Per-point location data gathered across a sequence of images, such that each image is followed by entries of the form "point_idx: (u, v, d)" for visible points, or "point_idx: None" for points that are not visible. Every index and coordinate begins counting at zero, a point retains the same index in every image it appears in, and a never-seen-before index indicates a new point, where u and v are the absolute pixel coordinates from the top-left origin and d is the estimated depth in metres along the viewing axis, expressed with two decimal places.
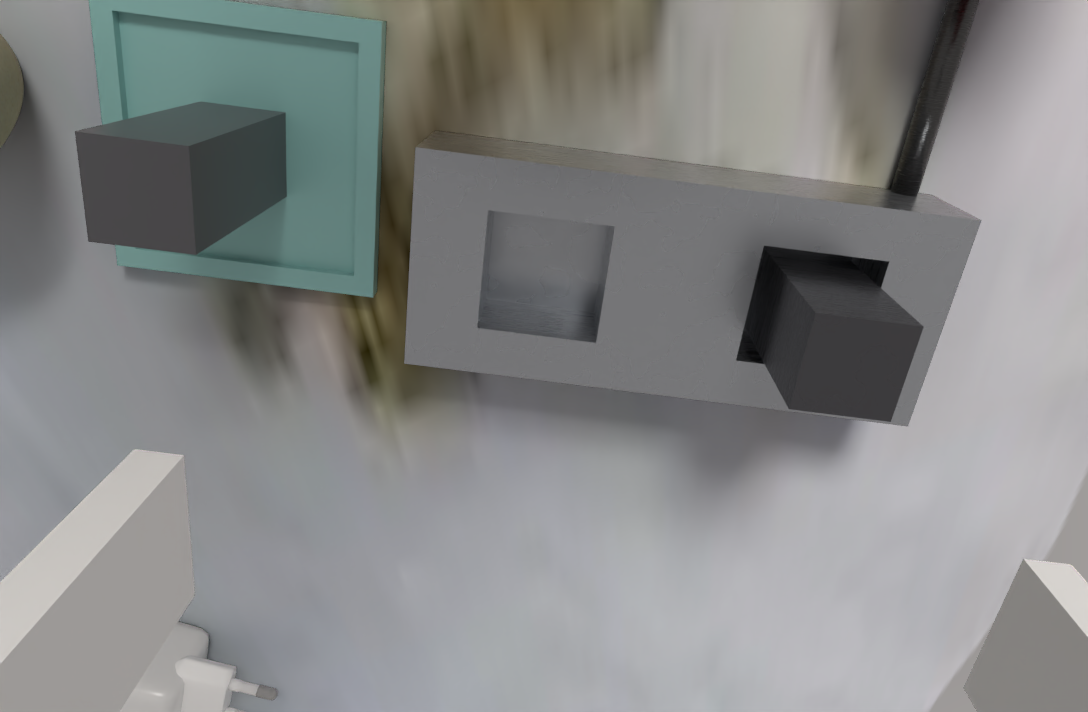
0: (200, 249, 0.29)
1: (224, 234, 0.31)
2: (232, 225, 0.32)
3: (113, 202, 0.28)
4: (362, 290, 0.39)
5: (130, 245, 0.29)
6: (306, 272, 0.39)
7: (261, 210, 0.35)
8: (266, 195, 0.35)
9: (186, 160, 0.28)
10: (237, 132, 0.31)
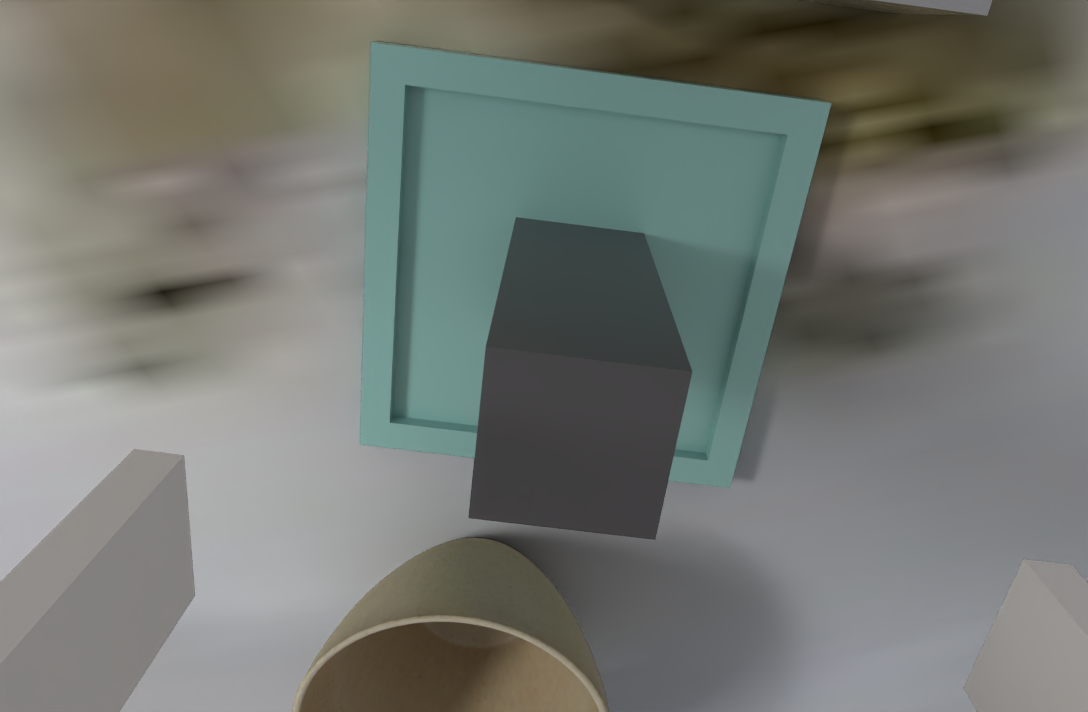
0: (684, 362, 0.15)
1: (671, 321, 0.17)
2: (659, 307, 0.18)
3: (587, 487, 0.16)
4: (815, 121, 0.22)
5: (666, 477, 0.16)
6: (771, 217, 0.23)
7: (652, 265, 0.21)
8: (631, 256, 0.22)
9: (511, 354, 0.15)
10: (507, 276, 0.19)
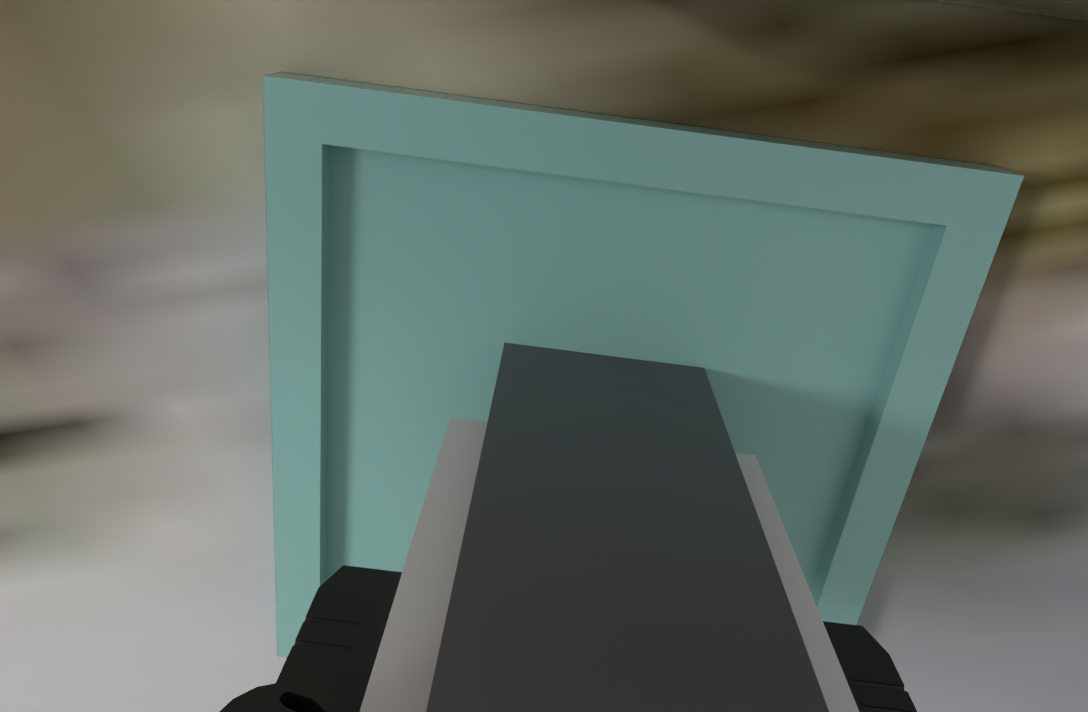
0: None
1: (797, 644, 0.09)
2: (766, 593, 0.09)
3: None
4: (995, 204, 0.13)
5: None
6: (910, 349, 0.15)
7: (731, 455, 0.12)
8: (691, 430, 0.13)
9: None
10: (477, 513, 0.10)
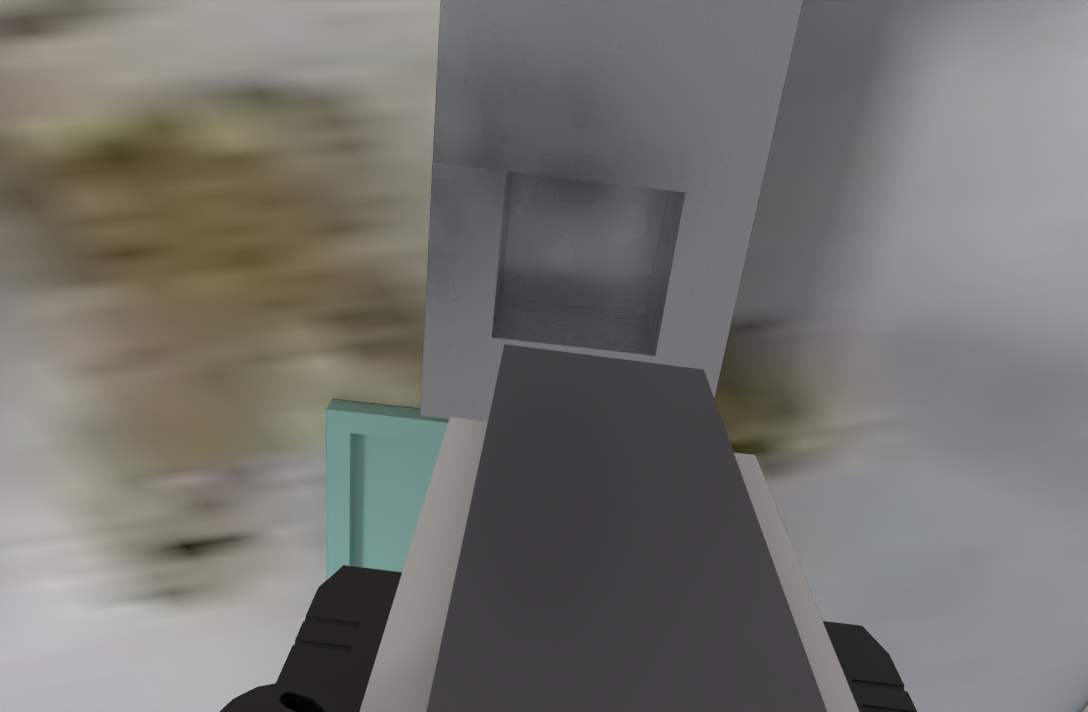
0: None
1: (796, 646, 0.09)
2: (765, 595, 0.09)
3: None
4: None
5: None
6: None
7: (730, 457, 0.12)
8: (691, 432, 0.13)
9: None
10: (477, 515, 0.10)
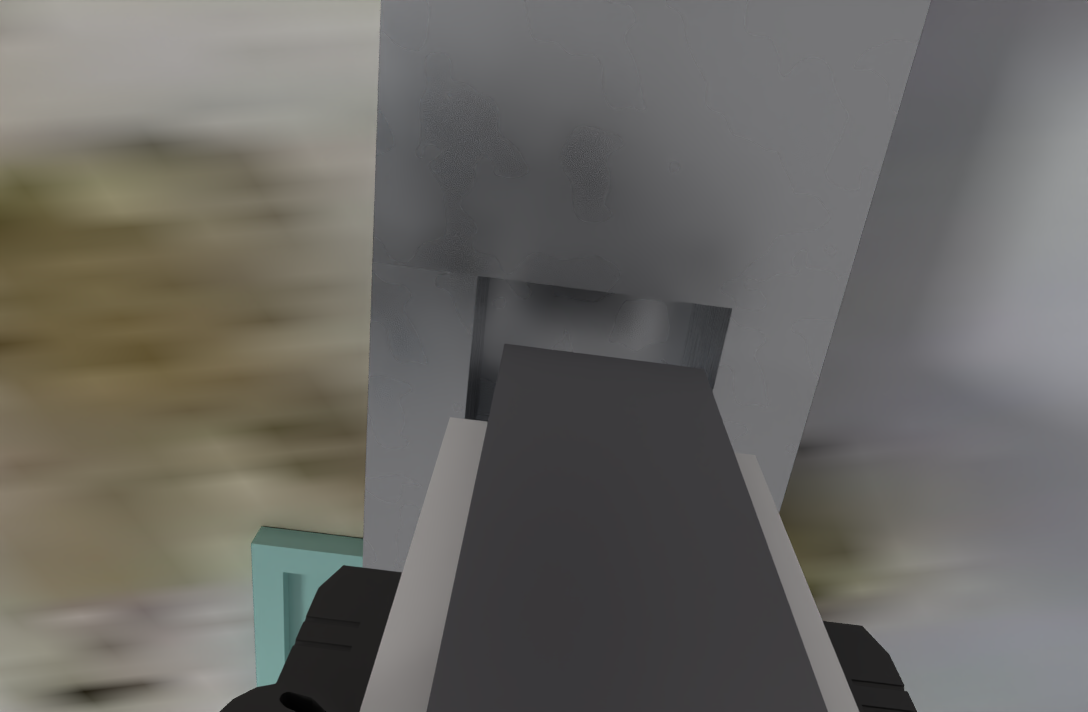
0: None
1: (796, 645, 0.09)
2: (765, 594, 0.09)
3: None
4: None
5: None
6: None
7: (730, 456, 0.12)
8: (691, 431, 0.13)
9: None
10: (477, 513, 0.10)
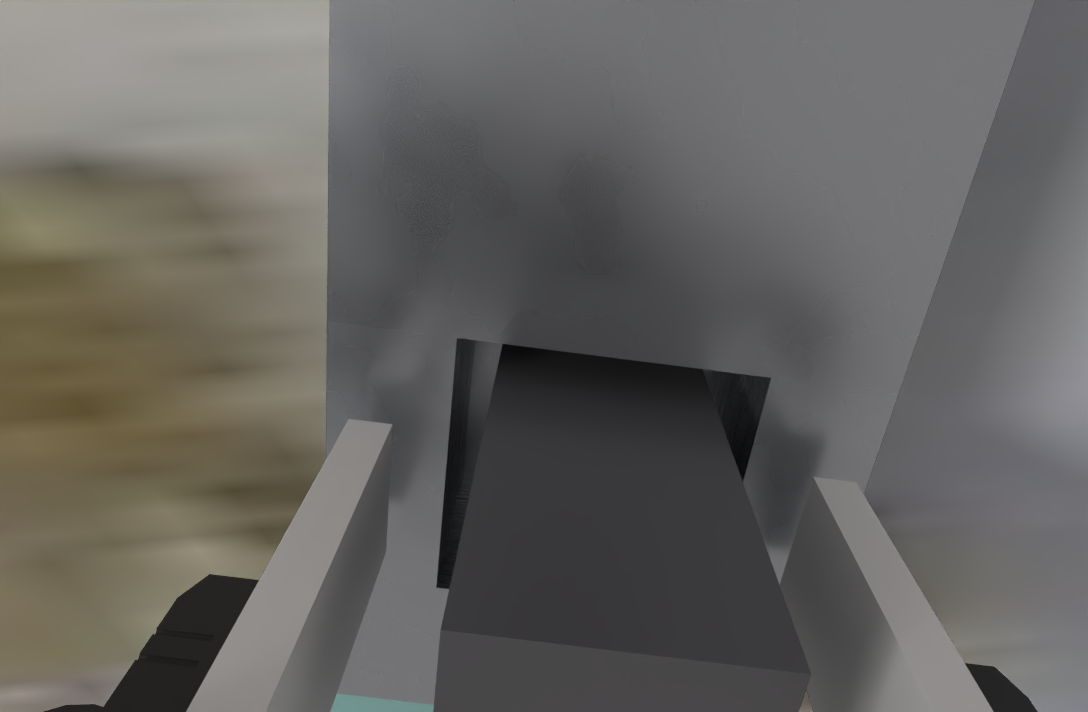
0: (791, 646, 0.09)
1: (752, 526, 0.11)
2: (729, 491, 0.11)
3: None
4: None
5: None
6: None
7: (706, 394, 0.14)
8: (674, 375, 0.15)
9: (486, 642, 0.08)
10: (491, 431, 0.12)
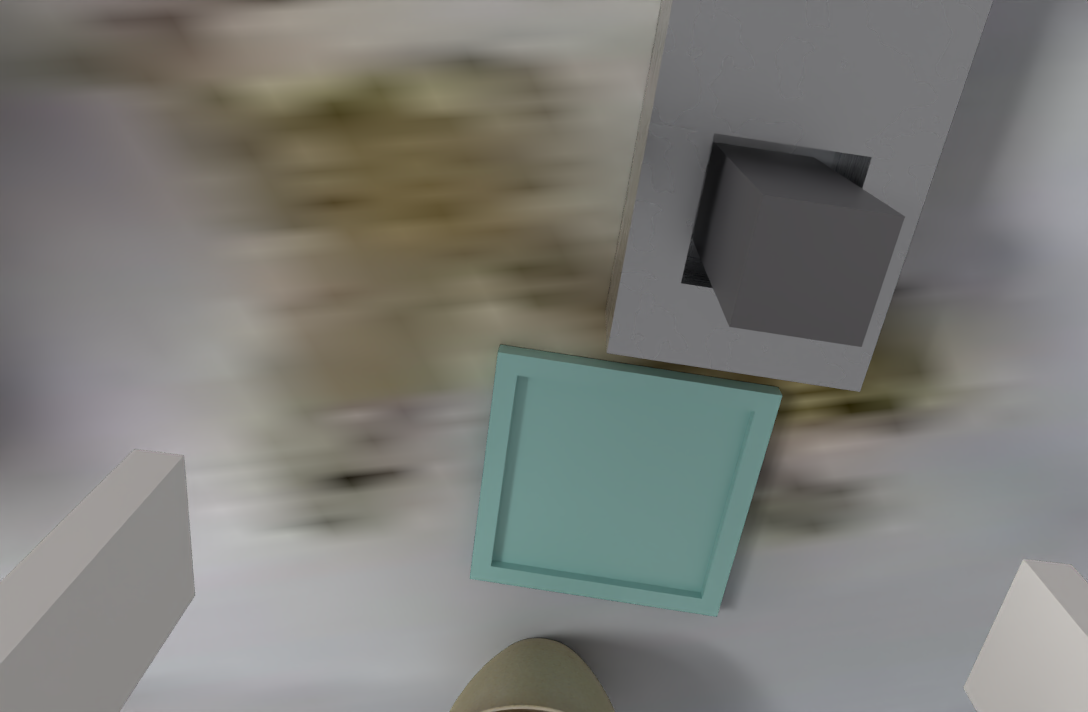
0: (896, 212, 0.22)
1: (871, 196, 0.24)
2: (858, 190, 0.25)
3: (818, 304, 0.23)
4: (772, 405, 0.35)
5: (876, 297, 0.23)
6: (744, 456, 0.36)
7: (835, 172, 0.28)
8: (815, 166, 0.28)
9: (779, 201, 0.22)
10: (741, 167, 0.26)
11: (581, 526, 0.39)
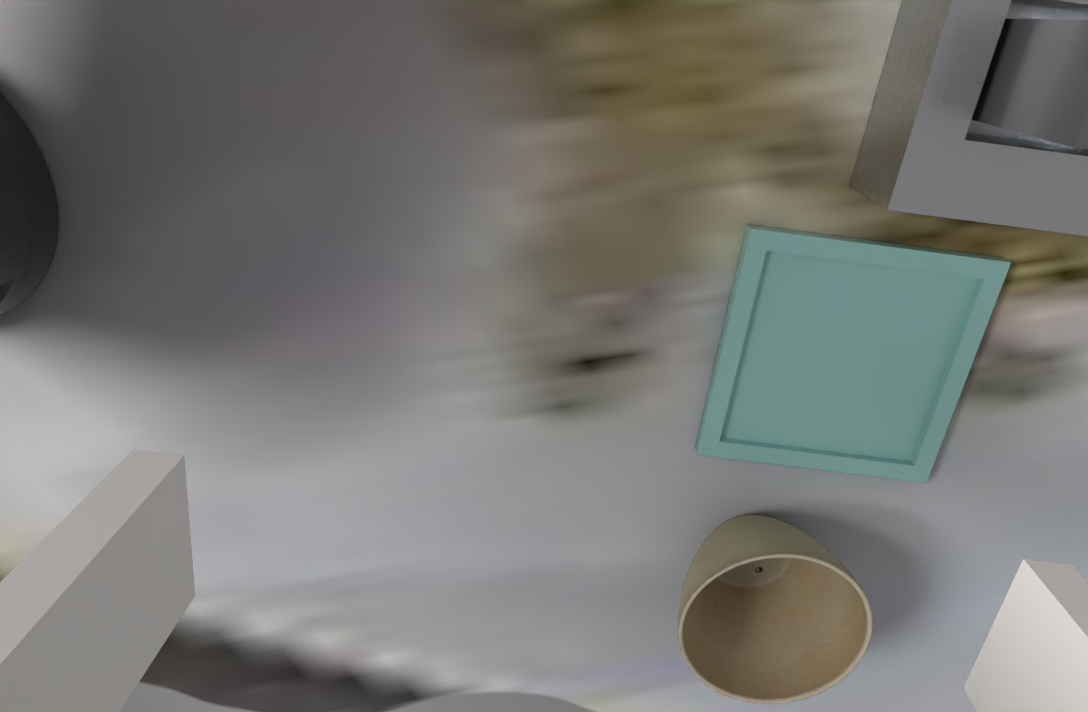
0: None
1: None
2: None
3: None
4: (1001, 272, 0.39)
5: None
6: (969, 323, 0.40)
7: None
8: None
9: None
10: (1051, 19, 0.29)
11: (806, 400, 0.42)
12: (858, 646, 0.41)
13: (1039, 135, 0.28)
